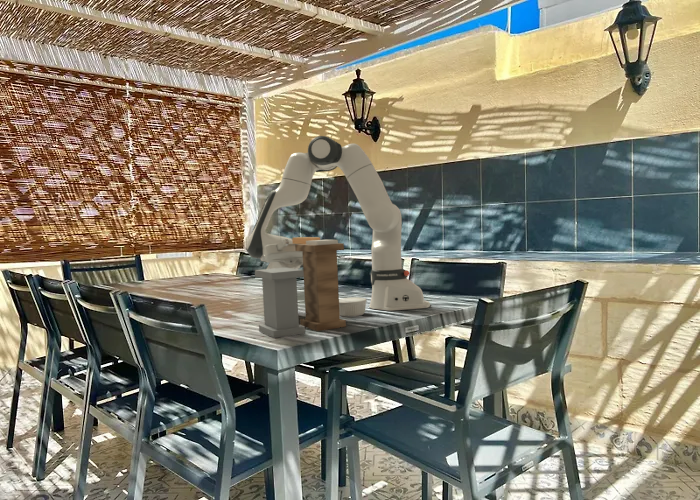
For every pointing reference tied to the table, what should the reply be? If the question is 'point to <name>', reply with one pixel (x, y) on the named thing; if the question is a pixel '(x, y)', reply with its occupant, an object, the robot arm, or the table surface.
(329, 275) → the tall stand
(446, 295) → the table surface
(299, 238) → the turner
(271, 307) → the low stand
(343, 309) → the ramekin
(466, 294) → the table surface
